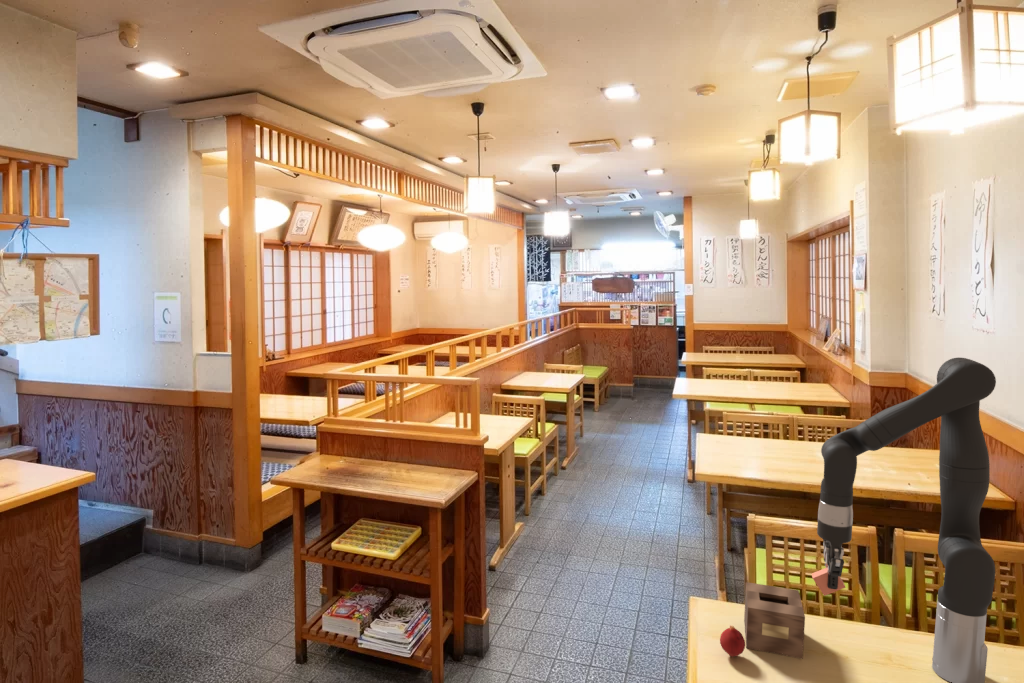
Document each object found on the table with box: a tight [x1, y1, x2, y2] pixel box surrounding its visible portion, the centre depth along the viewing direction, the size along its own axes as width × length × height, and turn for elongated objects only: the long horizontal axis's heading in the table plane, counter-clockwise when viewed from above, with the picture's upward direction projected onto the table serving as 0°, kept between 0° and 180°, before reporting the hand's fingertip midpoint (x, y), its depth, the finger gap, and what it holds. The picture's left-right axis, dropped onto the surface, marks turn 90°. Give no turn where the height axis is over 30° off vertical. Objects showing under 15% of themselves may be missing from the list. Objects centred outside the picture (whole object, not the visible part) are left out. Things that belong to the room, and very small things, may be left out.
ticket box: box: [743, 581, 806, 660], centre depth 153 cm, size 13×13×11 cm
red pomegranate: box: [719, 625, 746, 658], centre depth 146 cm, size 6×6×8 cm
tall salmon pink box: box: [811, 567, 846, 597], centre depth 148 cm, size 5×2×6 cm
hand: (831, 585), depth 148 cm, fingers closed on tall salmon pink box, 2 cm apart
